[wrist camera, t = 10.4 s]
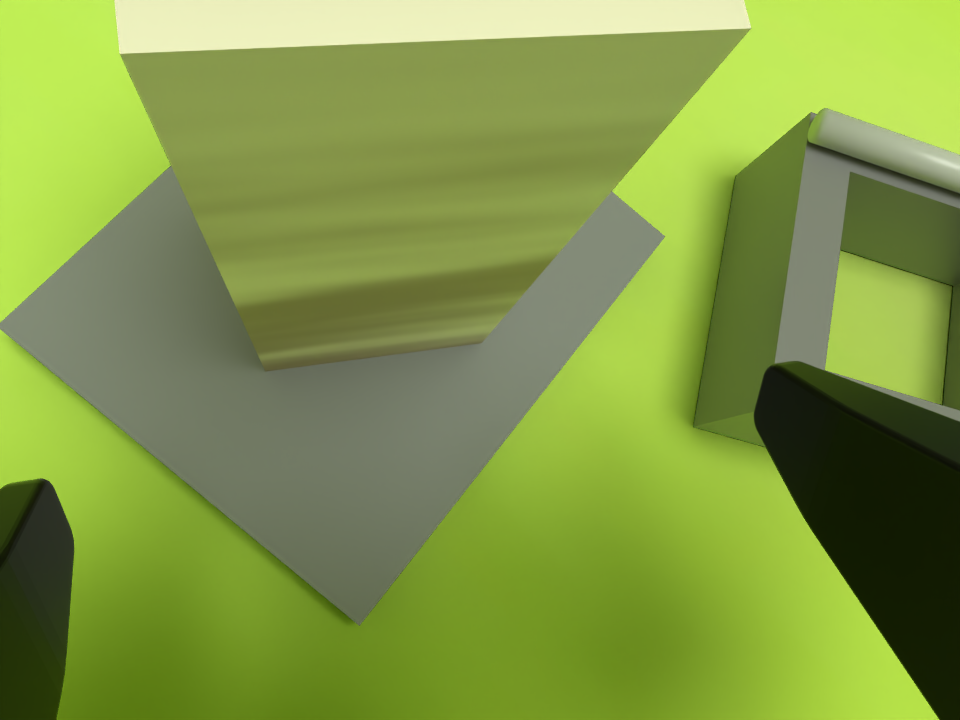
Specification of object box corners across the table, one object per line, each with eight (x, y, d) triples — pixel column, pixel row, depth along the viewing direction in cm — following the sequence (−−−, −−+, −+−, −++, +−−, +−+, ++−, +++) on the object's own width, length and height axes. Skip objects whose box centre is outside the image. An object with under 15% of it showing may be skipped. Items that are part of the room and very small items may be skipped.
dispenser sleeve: (973, 505, 21) (1133, 502, 17) (693, 426, 20) (789, 402, 15) (991, 260, 22) (1140, 202, 18) (735, 176, 21) (832, 93, 17)
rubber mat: (357, 619, 17) (359, 625, 16) (15, 336, 17) (-4, 326, 16) (649, 250, 20) (664, 236, 19) (365, 10, 20) (367, -16, 19)
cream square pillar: (481, 343, 18) (750, 27, 6) (265, 371, 17) (120, 53, 5) (454, 186, 19) (652, -355, 7) (244, 204, 18) (74, -401, 6)
